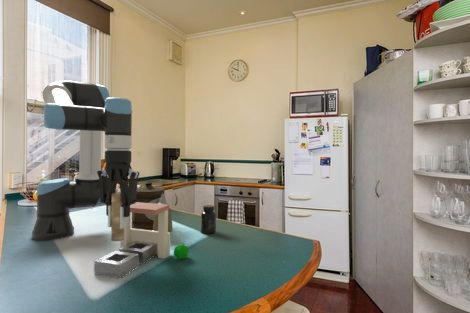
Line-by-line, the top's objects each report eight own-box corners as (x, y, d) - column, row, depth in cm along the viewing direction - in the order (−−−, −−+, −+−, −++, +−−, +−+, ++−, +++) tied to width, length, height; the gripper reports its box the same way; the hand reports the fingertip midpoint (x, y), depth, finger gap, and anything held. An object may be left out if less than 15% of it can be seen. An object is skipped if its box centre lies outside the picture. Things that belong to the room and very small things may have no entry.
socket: (94, 274, 86) (94, 261, 86) (114, 262, 95) (114, 250, 94) (120, 278, 83) (120, 265, 83) (138, 266, 92) (139, 254, 92)
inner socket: (118, 260, 96) (118, 248, 96) (135, 251, 105) (135, 240, 105) (142, 264, 94) (142, 251, 94) (157, 254, 103) (157, 243, 103)
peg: (108, 240, 87) (109, 193, 87) (116, 237, 91) (117, 192, 90) (118, 241, 86) (119, 194, 86) (126, 238, 90) (126, 192, 89)
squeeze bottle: (167, 240, 118) (168, 196, 117) (149, 238, 120) (149, 195, 119) (175, 234, 126) (176, 193, 125) (158, 233, 128) (158, 192, 127)
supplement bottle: (198, 231, 132) (199, 205, 131) (213, 229, 134) (213, 204, 134) (203, 235, 125) (203, 208, 125) (218, 234, 128) (218, 207, 128)
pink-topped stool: (107, 259, 98) (107, 205, 97) (126, 249, 107) (126, 200, 107) (154, 265, 93) (155, 210, 92) (170, 255, 102) (170, 204, 102)
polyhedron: (182, 254, 103) (182, 241, 103) (191, 258, 100) (191, 244, 100) (170, 258, 99) (170, 244, 99) (180, 262, 96) (180, 248, 96)
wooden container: (151, 233, 128) (152, 183, 127) (124, 229, 133) (124, 181, 132) (170, 225, 142) (170, 180, 141) (145, 221, 147) (145, 178, 146)
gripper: (86, 149, 86) (86, 227, 87) (134, 150, 82) (134, 232, 82) (104, 149, 94) (103, 221, 94) (149, 150, 89) (148, 226, 90)
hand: (117, 226), depth 88 cm, fingers closed on peg, 3 cm apart
